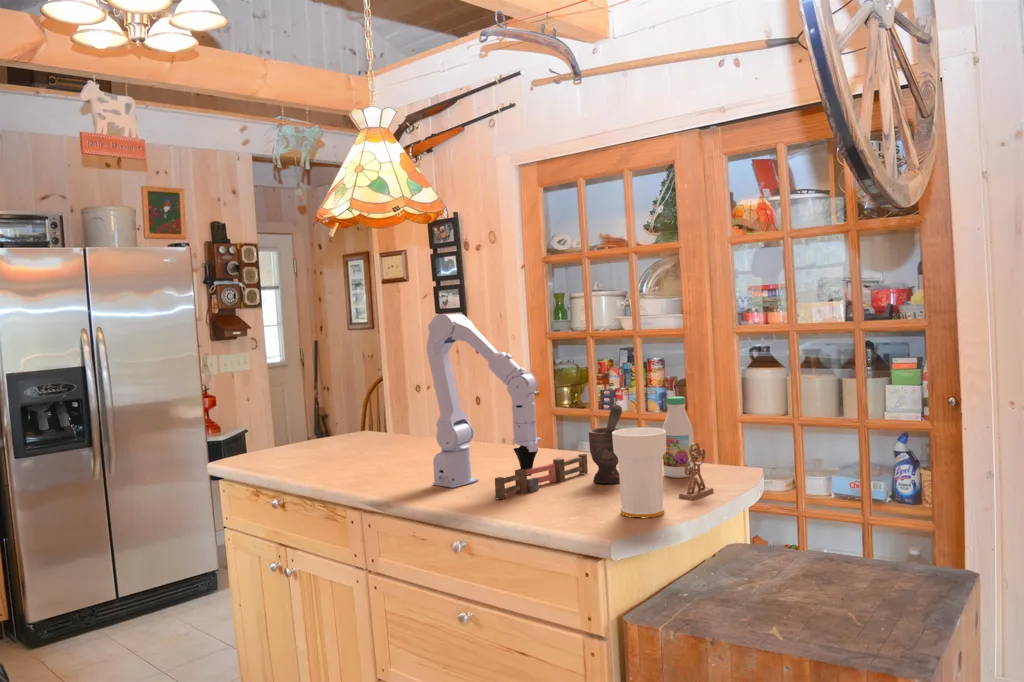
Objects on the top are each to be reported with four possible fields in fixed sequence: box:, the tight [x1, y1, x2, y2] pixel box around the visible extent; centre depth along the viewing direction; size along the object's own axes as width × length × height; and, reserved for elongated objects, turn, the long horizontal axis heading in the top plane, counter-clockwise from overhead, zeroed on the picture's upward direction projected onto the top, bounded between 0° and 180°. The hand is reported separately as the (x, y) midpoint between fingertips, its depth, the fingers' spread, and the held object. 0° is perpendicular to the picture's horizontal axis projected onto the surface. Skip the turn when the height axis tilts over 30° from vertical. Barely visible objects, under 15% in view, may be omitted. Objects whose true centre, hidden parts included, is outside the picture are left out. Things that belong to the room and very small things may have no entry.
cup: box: [612, 426, 666, 518], centre depth 170 cm, size 11×11×17 cm
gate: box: [526, 463, 557, 484], centre depth 200 cm, size 11×1×4 cm, turn 128°
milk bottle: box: [662, 396, 695, 479], centre depth 203 cm, size 8×8×20 cm
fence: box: [494, 453, 589, 500], centre depth 200 cm, size 34×3×6 cm, turn 137°
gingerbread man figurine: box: [678, 442, 714, 501], centre depth 182 cm, size 9×4×12 cm, turn 136°
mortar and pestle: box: [588, 404, 623, 485], centre depth 199 cm, size 12×9×20 cm
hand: (527, 475), depth 200 cm, fingers closed, pressing on gate
